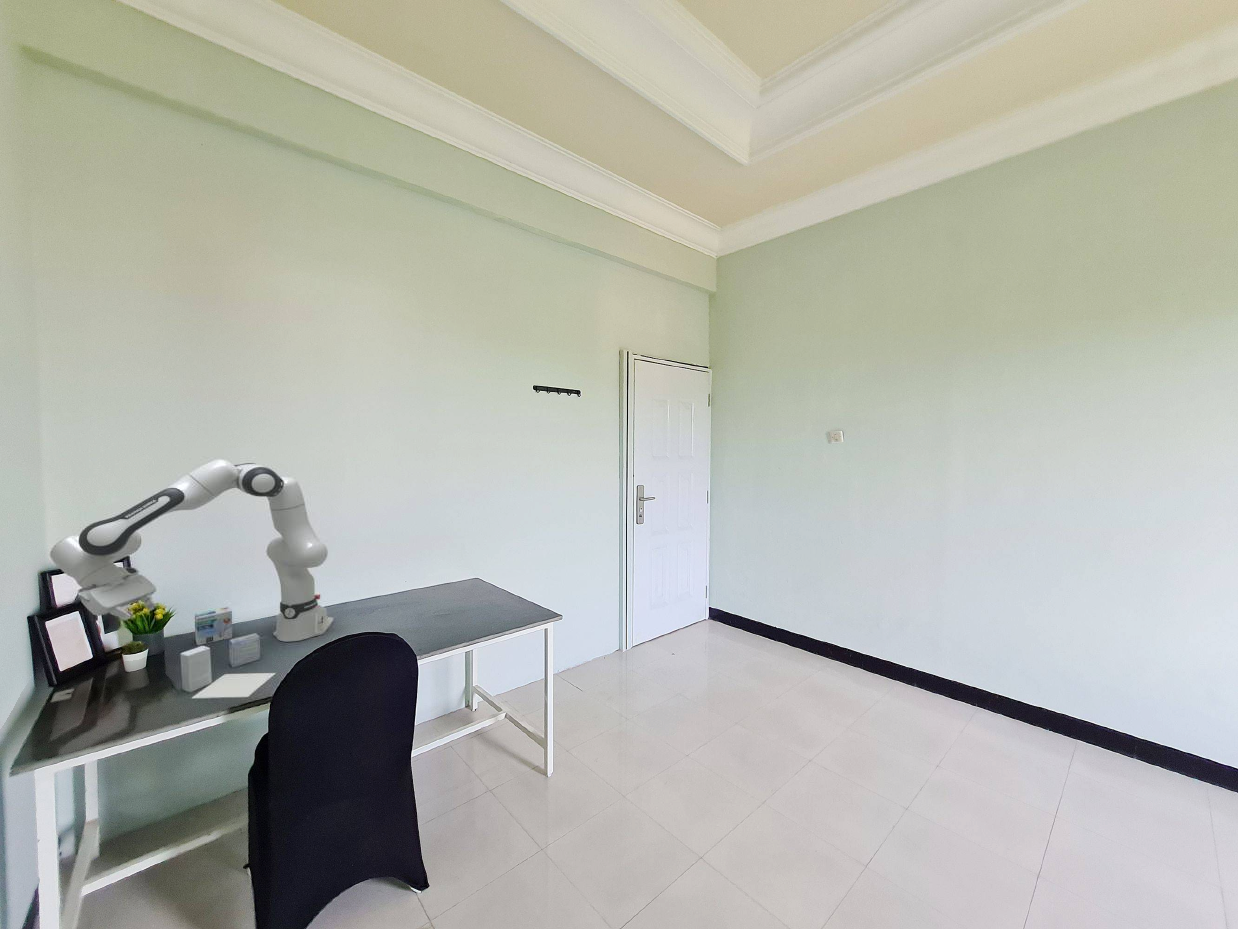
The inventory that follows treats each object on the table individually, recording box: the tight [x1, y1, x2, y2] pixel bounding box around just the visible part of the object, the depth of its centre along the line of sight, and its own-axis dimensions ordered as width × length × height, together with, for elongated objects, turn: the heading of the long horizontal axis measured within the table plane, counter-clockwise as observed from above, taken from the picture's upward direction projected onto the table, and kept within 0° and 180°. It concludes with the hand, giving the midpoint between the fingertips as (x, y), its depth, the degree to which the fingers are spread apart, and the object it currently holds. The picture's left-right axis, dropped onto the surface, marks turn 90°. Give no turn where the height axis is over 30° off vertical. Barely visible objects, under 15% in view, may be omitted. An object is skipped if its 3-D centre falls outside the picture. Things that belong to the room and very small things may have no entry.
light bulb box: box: [194, 606, 233, 646], centre depth 182 cm, size 11×7×11 cm, turn 137°
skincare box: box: [179, 645, 213, 693], centre depth 149 cm, size 6×4×12 cm
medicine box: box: [228, 632, 261, 668], centre depth 166 cm, size 8×4×9 cm, turn 141°
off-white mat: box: [191, 672, 277, 700], centre depth 151 cm, size 14×16×1 cm
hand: (141, 613), depth 145 cm, fingers open, 8 cm apart
